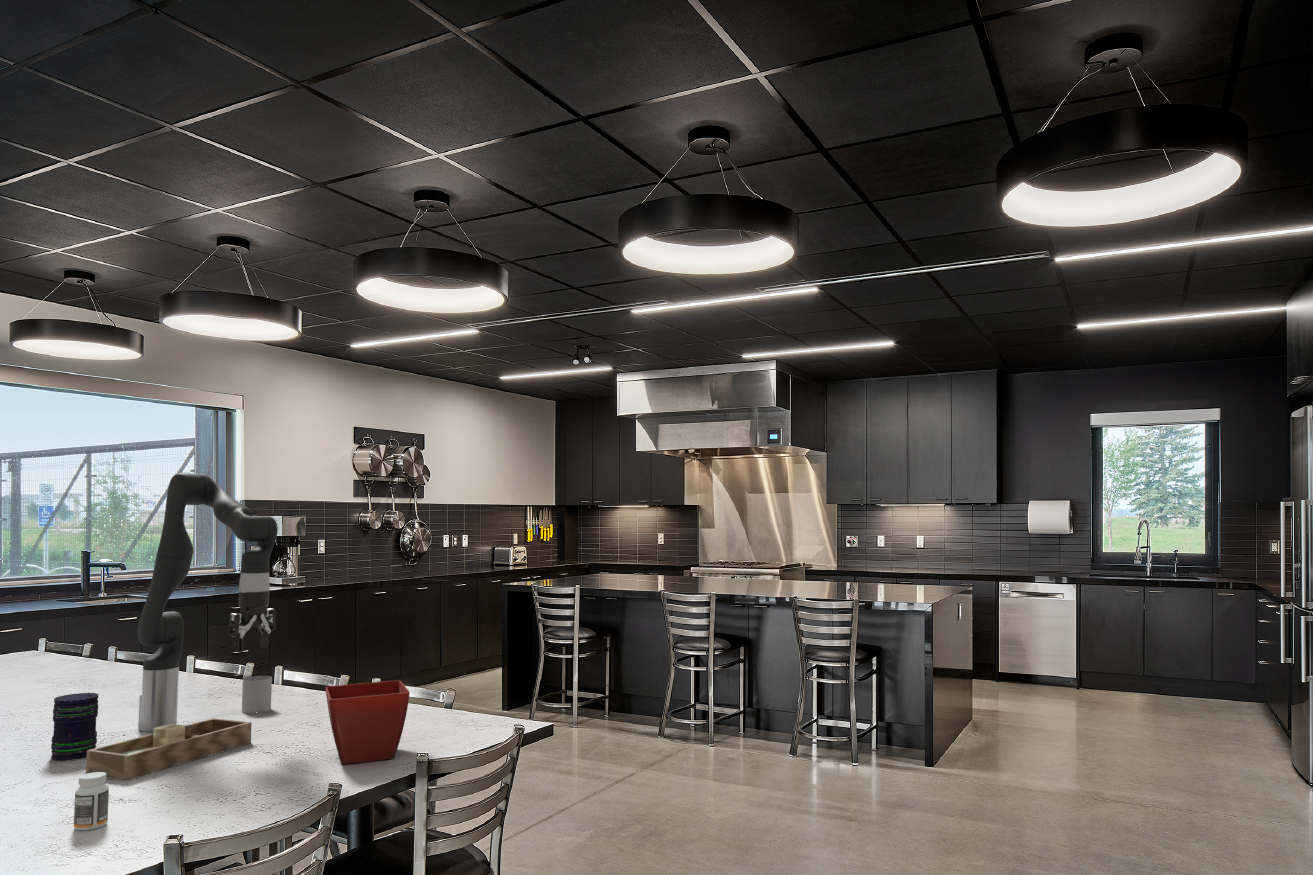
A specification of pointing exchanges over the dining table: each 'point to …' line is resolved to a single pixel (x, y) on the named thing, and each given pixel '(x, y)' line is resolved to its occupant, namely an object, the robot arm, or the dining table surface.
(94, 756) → the long open wooden box
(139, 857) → the dining table surface
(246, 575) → the robot arm
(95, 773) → the pill bottle
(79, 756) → the storage jar
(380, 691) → the plant pot
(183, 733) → the maple block
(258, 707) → the cup
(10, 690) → the dining table surface
